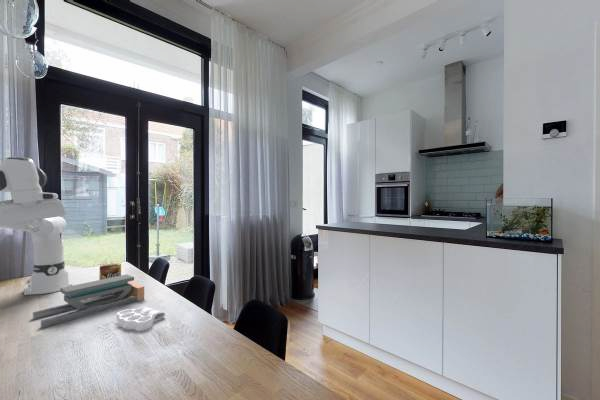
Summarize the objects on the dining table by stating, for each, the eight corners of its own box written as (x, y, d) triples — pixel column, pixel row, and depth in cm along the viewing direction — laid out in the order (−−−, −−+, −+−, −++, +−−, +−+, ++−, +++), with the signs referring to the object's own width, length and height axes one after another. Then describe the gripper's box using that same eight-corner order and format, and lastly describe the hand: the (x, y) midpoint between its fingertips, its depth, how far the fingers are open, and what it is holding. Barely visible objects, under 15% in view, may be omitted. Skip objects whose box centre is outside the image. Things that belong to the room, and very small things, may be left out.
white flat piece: (170, 320, 107) (131, 336, 94) (144, 310, 116) (105, 324, 103) (170, 311, 107) (131, 327, 94) (143, 303, 116) (105, 315, 103)
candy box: (99, 297, 130) (99, 266, 130) (99, 295, 134) (99, 264, 134) (121, 294, 135) (121, 263, 135) (121, 291, 139) (121, 262, 139)
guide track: (32, 318, 107) (32, 312, 107) (124, 294, 134) (124, 289, 134) (41, 328, 99) (41, 321, 99) (137, 300, 126) (137, 295, 126)
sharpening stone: (66, 319, 107) (66, 291, 107) (60, 314, 112) (60, 288, 112) (134, 300, 127) (134, 277, 127) (126, 296, 132) (126, 274, 132)
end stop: (124, 294, 134) (124, 282, 134) (131, 293, 137) (131, 281, 137) (137, 300, 126) (137, 288, 126) (144, 299, 128) (144, 286, 128)
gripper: (-13, 202, 98) (-4, 239, 99) (61, 193, 111) (68, 226, 112) (-9, 202, 102) (0, 237, 104) (61, 193, 115) (68, 225, 117)
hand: (36, 231), depth 108 cm, fingers closed
